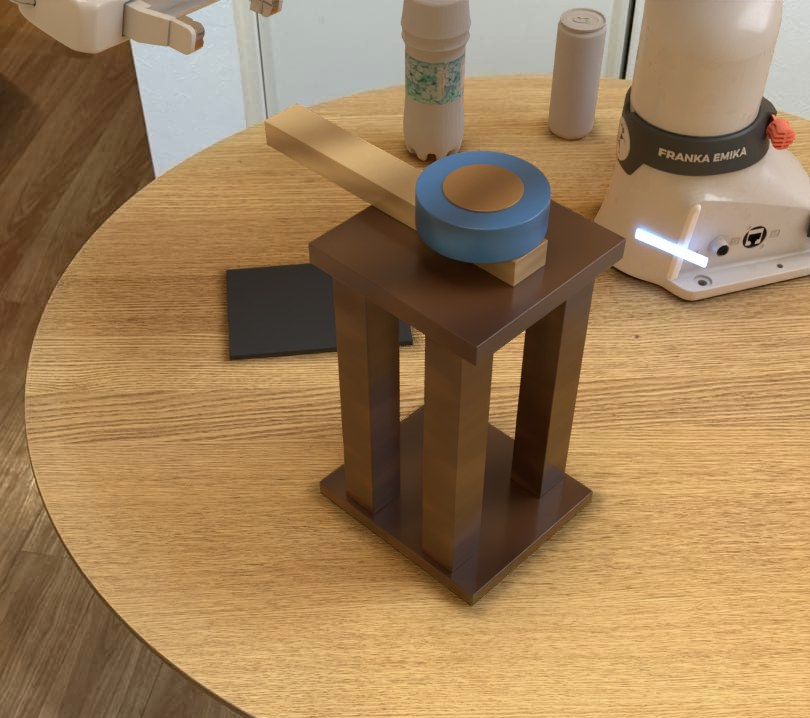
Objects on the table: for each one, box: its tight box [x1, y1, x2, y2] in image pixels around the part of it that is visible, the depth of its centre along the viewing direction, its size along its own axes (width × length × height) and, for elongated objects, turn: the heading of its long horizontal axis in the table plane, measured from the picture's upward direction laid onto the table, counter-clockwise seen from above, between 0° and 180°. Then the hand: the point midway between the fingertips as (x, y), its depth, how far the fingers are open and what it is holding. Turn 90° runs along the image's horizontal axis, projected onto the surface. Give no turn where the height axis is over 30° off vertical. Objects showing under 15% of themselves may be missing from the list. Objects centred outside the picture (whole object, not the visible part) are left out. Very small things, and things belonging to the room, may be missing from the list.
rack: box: [307, 151, 626, 607], centre depth 81 cm, size 16×14×24 cm
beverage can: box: [547, 7, 608, 140], centre depth 118 cm, size 5×5×12 cm
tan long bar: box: [263, 103, 552, 287], centre depth 73 cm, size 22×8×4 cm, turn 46°
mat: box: [225, 262, 414, 361], centre depth 104 cm, size 16×12×1 cm
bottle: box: [400, 0, 472, 161], centre depth 113 cm, size 7×7×20 cm
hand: (239, 22), depth 80 cm, fingers open, 8 cm apart
